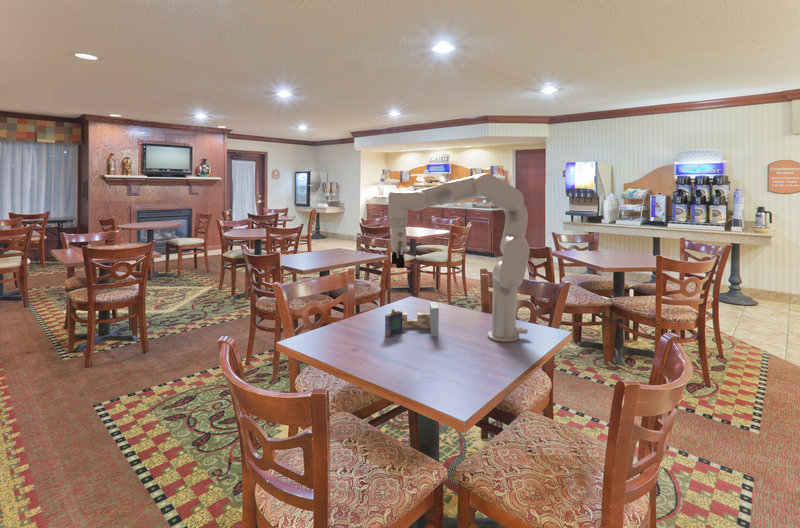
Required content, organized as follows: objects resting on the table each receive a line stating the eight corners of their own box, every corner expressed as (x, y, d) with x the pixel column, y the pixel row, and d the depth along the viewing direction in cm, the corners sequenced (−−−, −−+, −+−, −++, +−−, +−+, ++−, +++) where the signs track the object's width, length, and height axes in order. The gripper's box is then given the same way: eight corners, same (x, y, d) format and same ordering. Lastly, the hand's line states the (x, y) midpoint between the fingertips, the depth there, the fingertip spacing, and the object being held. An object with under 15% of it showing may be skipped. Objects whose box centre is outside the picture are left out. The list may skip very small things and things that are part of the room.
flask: (387, 337, 182) (387, 312, 180) (382, 335, 184) (382, 310, 182) (403, 332, 188) (403, 307, 186) (398, 330, 190) (398, 306, 188)
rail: (434, 325, 197) (434, 312, 196) (435, 327, 194) (435, 314, 193) (389, 325, 197) (389, 312, 196) (389, 327, 194) (389, 314, 193)
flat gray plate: (429, 328, 193) (429, 302, 191) (436, 328, 193) (436, 302, 191) (431, 336, 183) (431, 308, 181) (438, 336, 183) (438, 308, 181)
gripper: (412, 224, 167) (411, 269, 170) (402, 221, 184) (402, 262, 187) (392, 224, 166) (392, 269, 169) (384, 221, 183) (385, 262, 185)
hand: (397, 265), depth 178 cm, fingers open, 9 cm apart
